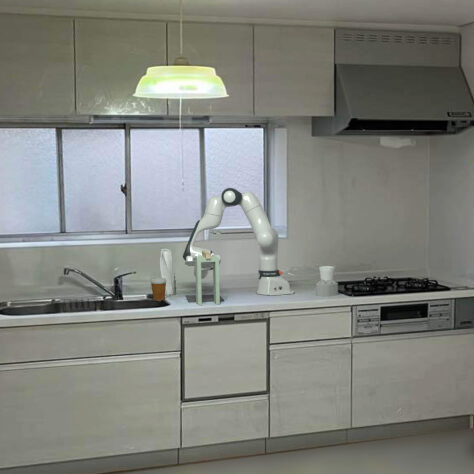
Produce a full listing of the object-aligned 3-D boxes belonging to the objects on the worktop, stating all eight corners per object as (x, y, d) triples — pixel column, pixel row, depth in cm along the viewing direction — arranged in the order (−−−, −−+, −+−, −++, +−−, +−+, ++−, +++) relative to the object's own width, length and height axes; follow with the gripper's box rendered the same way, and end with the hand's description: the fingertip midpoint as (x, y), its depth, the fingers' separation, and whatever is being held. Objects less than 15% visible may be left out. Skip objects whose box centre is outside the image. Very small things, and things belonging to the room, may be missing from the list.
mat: (218, 295, 432) (218, 294, 432) (224, 300, 411) (224, 299, 411) (185, 296, 428) (185, 295, 428) (188, 302, 408) (188, 301, 408)
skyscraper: (169, 296, 430) (168, 249, 428) (158, 295, 434) (156, 248, 431) (176, 294, 438) (175, 248, 435) (165, 293, 441) (164, 247, 439)
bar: (202, 254, 414) (201, 250, 414) (206, 254, 414) (206, 250, 414) (206, 258, 395) (206, 253, 395) (210, 258, 396) (210, 253, 395)
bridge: (217, 301, 409) (216, 255, 407) (219, 304, 400) (218, 257, 397) (196, 302, 408) (195, 256, 405) (198, 305, 398) (197, 258, 395)
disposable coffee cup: (160, 301, 412) (159, 280, 411) (147, 300, 418) (146, 279, 416) (170, 298, 421) (170, 278, 419) (157, 297, 426) (157, 277, 425)
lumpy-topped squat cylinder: (340, 295, 425) (340, 280, 425) (322, 297, 419) (322, 282, 418) (329, 292, 434) (329, 278, 434) (311, 294, 428) (311, 280, 427)
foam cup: (333, 288, 448) (333, 268, 447) (318, 288, 450) (318, 267, 449) (334, 286, 458) (334, 266, 456) (320, 286, 459) (320, 266, 458)
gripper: (184, 260, 425) (185, 250, 413) (218, 258, 428) (221, 249, 416) (185, 269, 422) (186, 260, 410) (219, 268, 426) (222, 259, 413)
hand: (204, 254), depth 413 cm, fingers open, 8 cm apart
